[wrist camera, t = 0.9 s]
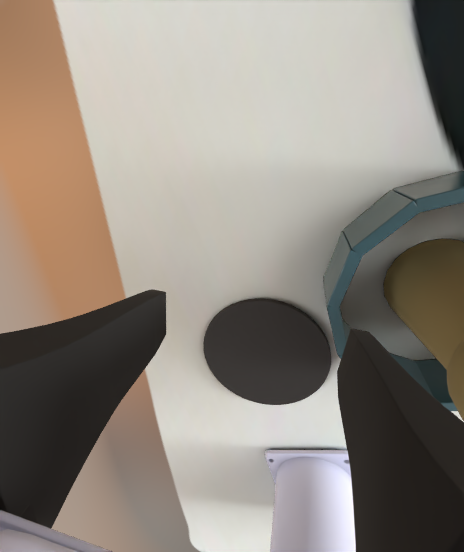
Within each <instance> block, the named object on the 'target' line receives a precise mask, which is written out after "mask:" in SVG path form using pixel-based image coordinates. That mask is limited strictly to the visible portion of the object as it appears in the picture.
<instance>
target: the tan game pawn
mask: <svg viewBox="0 0 464 552" xmlns="http://www.w3.org/2000/svg"><path fill="white" fill-rule="evenodd" d="M383 285H384V296H385V298H386V300H387V302H388V304H389V306H390V308H391V309H392V310H393V311H394V312H395V313H396V314H397V315H398V316H399V318H400V319H401V320H402V321H403V322H404V323H405V324H406V325H407V326H408V328H409V329H410V330H411V331H412V332H413V333H414V334H415V335H416V336H417V338H418V339H419V340H420V341H421V342H422V343H423V344H424V345H425V346H426V348H427V349H428V350H429V351H430V352H431V353H432V354H433V355H434V356H435V358H436V359H437V360H438V361H439V362H440V363H441V364H442V365H443V366H444V368H445V369H446V370H447V385H448V391H449V395H450V397H451V398H452V400H453V402H454V404H455V406H456V408H457V410H458V412H459V414H460V415H461V417H462V419H463V421H464V242H462V241H460V240H451V239H437V240H431V241H425V242H423V243H420V244H418V245H416V246H414V247H411V248H409V249H408V250H406V251H405V252H404V253H402V254H401V255H400V256H399V257H397V258H396V259H395V261H394V262H393V263H392V265H391V266H390V268H389V269H388V271H387V273H386V277H385V280H384V284H383Z"/></svg>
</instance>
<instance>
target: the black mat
mask: <svg viewBox="0 0 464 552" xmlns="http://www.w3.org/2000/svg"><path fill="white" fill-rule="evenodd" d="M204 354H205V358H206V361H207V364H208V366H209V368H210V370H211V371H212V373H213V374H214V376H215V377H216V378H217V379H218V381H219V382H220V383H222V384H223V385H224V386H225V387H226V388H227V389H229V390H230V391H232V392H233V393H235V394H236V395H238V396H240V397H242V398H245V399H247V400H250V401H253V402H257V403H262V404H269V405H282V404H289V403H294V402H297V401H300V400H303V399H305V398H307V397H309V396H310V395H312V394H313V393H314V392H316V391H317V390H318V389H319V388H320V387H321V385H322V384H323V383H324V381H325V380H326V378H327V376H328V373H329V370H330V365H331V354H330V347H329V344H328V341H327V339H326V336H325V334H324V333H323V331H322V330H321V328H320V327H319V326H318V324H317V323H316V322H315V321H314V320H313V319H312V318H311V317H309V316H308V315H307V314H306V313H304V312H303V311H301V310H300V309H298V308H296V307H294V306H292V305H289V304H287V303H284V302H280V301H276V300H271V299H248V300H243V301H239V302H237V303H234V304H231V305H230V306H228V307H226V308H224V309H223V310H222V311H220V312H219V313H218V314H217V315H216V316H215V317H214V319H213V320H212V321H211V323H210V325H209V327H208V329H207V331H206V334H205V337H204Z"/></svg>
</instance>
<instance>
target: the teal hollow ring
mask: <svg viewBox="0 0 464 552" xmlns="http://www.w3.org/2000/svg"><path fill="white" fill-rule="evenodd" d="M463 202H464V171H459V172H455V173H452V174H448V175H444V176H440V177H436V178H432V179H428V180H425V181H421V182H417V183H413V184H409V185H405V186H401V187H398V188H394V189H393V191H392V190H390V191H389V192H388V193H387V194H386V195H384V196H383V197H382V198H381V199H379V200H378V201H377V202H376V203H375V204H373V205H372V206H371V207H370V208H369V209H367V210H366V211H365V212H364V213H363V214H361V215H360V216H359V217H358V218H357V219H355V220H354V221H353V222H352V223H351V224H349V225H348V226H347V227H346V228H345V229H344V231H342V232H341V235H340V237H339V240H338V242H337V245H336V247H335V250H334V252H333V255H332V257H331V260H330V262H329V265H328V267H327V270H326V272H325V275H324V280H323V282H324V289H325V297H326V304H327V310H328V314H329V319H330V324H331V328H332V333H333V337H334V342H335V346H336V351H337V354H338V356H339V357H340V358H342V355H343V352H344V349H345V346H346V342H347V339H348V336H349V333H350V330H351V327H350V326H349V325H348V324H347V323H346V322H345V321H344V320H343V319H342V315H341V310H340V305H341V302H342V300H343V298H344V296H345V293H346V291H347V289H348V287H349V285H350V282H351V280H352V278H353V276H354V273H355V271H356V269H357V267H358V264H359V262H360V260H361V258H362V256H363V255H364V254H365V253H367V252H368V251H369V250H371V249H372V248H373V247H375V246H376V245H377V244H379V243H380V242H381V241H382V240H384V239H385V238H386V237H388V236H389V235H390V234H392V233H393V232H394V231H396V230H397V229H398V228H400V227H401V226H402V225H404V224H405V223H406V222H408V221H409V220H410V219H412V218H413V217H414V216H416V215H417V214H418V213H420V212H424V211H429V210H433V209H437V208H442V207H446V206H450V205H455V204H459V203H463ZM389 354H390V355H391V356H392V357H393V358H394V359H395V360H396V361H397V362H398V363H399V364H400V365H401V366H402V367H403V368H404V369H405V370H406V371H407V372H408V373H409V374H410V375H411V376H412V377H413V378H414V379H415V380H416V381H417V382H418V383H419V384H420V385H421V386H422V387H423V388H424V389H425V390H426V391H427V392H429V393H430V394H431V395H432V396H433V397H434V398H435V399H436V400H437V401H439V402H440V403H441V404H442V405H443V406H444V407H446V408H447V409H448V410H449V411H458V410H457V408H456V406H455V404H454V402H453V400H452V398H451V397H450V395H449V391H448V385H447V370H446V369H445V368H444V366H443V365H442V364H441V363H440V362H439V361H438V360H437V359H432V360H421V361H413V360H410V359H407V358H403V357H400V356H397V355H394V354H391V353H389Z"/></svg>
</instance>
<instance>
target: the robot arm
mask: <svg viewBox="0 0 464 552" xmlns="http://www.w3.org/2000/svg"><path fill="white" fill-rule="evenodd" d="M165 335H166V292H163V291H157V290H148V291H145V292H142V293H139V294H137V295H134V296H131V297H129V298H126V299H124V300H122V301H119V302H116V303H113V304H111V305H108V306H106V307H103V308H100V309H97V310H94V311H91V312H89V313H86V314H83V315H80V316H77V317H73V318H71V319H67V320H63V321H59V322H55V323H52V324H48V325H44V326H38V327H34V328H29V329H24V330H19V331H14V332H9V333H2V334H0V552H112V551H109V550H107V549H104V548H101V547H99V546H96V545H93V544H91V543H88V542H85V541H83V540H80V539H77V538H75V537H72V536H69V535H66V534H64V533H61V532H58V531H56V530H53V529H51V528H52V526H53V524H54V522H55V520H56V518H57V516H58V514H59V512H60V510H61V508H62V506H63V503H64V502H65V500H66V497H67V495H68V493H69V491H70V489H71V487H72V486H73V483H74V482H75V480H76V478H77V476H78V474H79V472H80V470H81V469H82V467H83V465H84V463H85V461H86V459H87V457H88V456H89V454H90V452H91V450H92V448H93V447H94V445H95V443H96V441H97V440H98V438H99V436H100V434H101V432H102V431H103V429H104V427H105V426H106V424H107V422H108V421H109V419H110V417H111V415H112V414H113V412H114V411H115V409H116V407H117V406H118V404H119V403H120V402H121V400H122V399H123V397H124V396H125V395H126V393H127V392H128V390H129V389H130V388H131V386H132V385H133V384H134V382H135V381H136V380H137V378H138V377H139V375H140V374H141V373H142V372H143V370H144V369H145V368H146V366H147V365H148V363H149V362H150V361H151V359H152V358H153V357H154V355H155V354H156V352H157V350H158V348H159V347H160V345H161V343H162V341H163V339H164V337H165ZM337 379H338V399H339V405H340V411H341V417H342V423H343V428H344V434H345V439H346V445H347V450H267V451H266V452H265V458H266V461H267V463H268V466H269V469H270V472H271V474H272V477H273V480H274V482H275V485H276V489H275V500H274V511H273V523H272V534H271V545H270V552H464V422H463V421H461V420H460V419H459V418H458V417H457V416H455V415H454V414H453V413H452V412H451V411H449V410H448V409H447V408H446V407H444V406H443V405H442V404H441V403H440V402H439V401H437V400H436V399H435V398H434V397H433V396H432V395H431V394H430V393H429V392H427V391H426V390H425V389H424V388H423V387H422V386H421V385H420V384H419V383H418V382H417V381H416V380H415V379H414V378H413V377H412V376H411V375H410V374H409V373H408V372H407V371H406V370H405V369H404V368H403V367H402V366H401V365H400V364H399V363H398V362H397V361H396V360H395V359H394V358H393V357H392V356H391V355H390V354H389V353H388V351H387V350H386V349H385V348H384V347H383V346H382V345H381V344H380V343H379V342H378V341H377V340H376V339H375V337H374V336H373V335H372V334H371V333H369V332H367V331H362V330H357V329H352V328H351V330H350V333H349V336H348V339H347V342H346V346H345V349H344V352H343V355H342V358H341V361H340V365H339V368H338V371H337Z"/></svg>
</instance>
